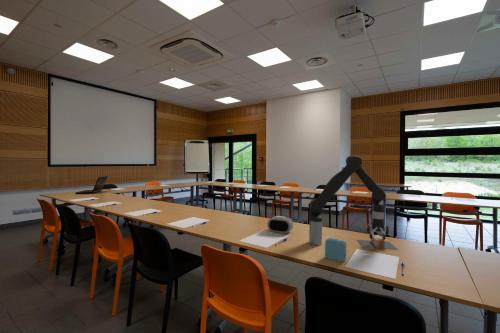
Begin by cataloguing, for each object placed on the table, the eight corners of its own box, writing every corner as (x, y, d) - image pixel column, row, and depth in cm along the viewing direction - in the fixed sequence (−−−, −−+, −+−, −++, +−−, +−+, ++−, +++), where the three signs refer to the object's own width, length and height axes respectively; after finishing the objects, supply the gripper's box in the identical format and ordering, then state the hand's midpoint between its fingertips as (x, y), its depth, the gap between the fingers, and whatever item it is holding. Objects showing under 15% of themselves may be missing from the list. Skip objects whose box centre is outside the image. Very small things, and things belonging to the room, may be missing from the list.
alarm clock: (267, 232, 214) (267, 216, 214) (270, 229, 223) (270, 214, 223) (290, 235, 206) (290, 219, 206) (292, 232, 215) (293, 216, 215)
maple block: (371, 241, 190) (377, 247, 177) (371, 234, 190) (377, 240, 177) (378, 241, 190) (384, 248, 176) (378, 235, 189) (384, 241, 176)
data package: (346, 260, 155) (346, 241, 155) (344, 262, 151) (344, 243, 151) (327, 255, 162) (327, 237, 162) (324, 257, 159) (325, 239, 158)
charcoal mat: (362, 248, 176) (362, 247, 176) (355, 240, 194) (356, 239, 194) (398, 250, 172) (398, 250, 172) (389, 242, 190) (389, 241, 190)
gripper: (369, 218, 180) (368, 240, 181) (390, 219, 178) (389, 241, 178) (366, 215, 187) (365, 237, 188) (386, 217, 185) (385, 238, 185)
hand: (377, 239), depth 183 cm, fingers open, 8 cm apart
